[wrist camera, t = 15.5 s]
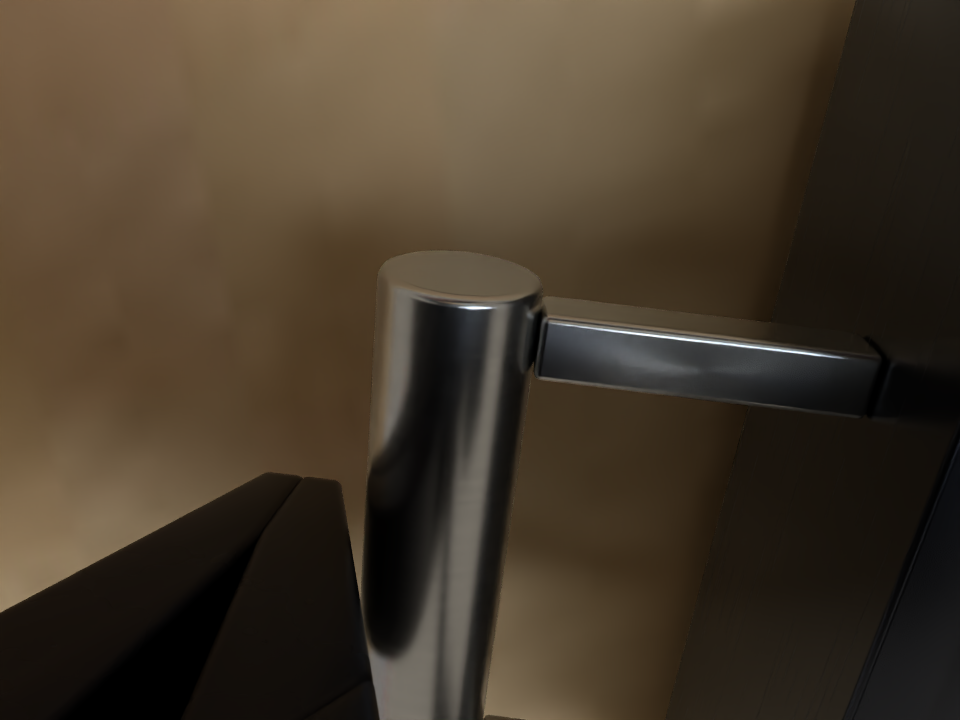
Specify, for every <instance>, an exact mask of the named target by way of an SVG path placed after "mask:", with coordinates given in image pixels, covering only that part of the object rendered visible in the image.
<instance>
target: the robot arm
mask: <svg viewBox="0 0 960 720" xmlns="http://www.w3.org/2000/svg"><path fill="white" fill-rule="evenodd" d="M0 720H380V717H379V711H378V705H377V698H376V692H375V687H374V685H373V676H372V670H371V664H370V658H369V652H368V646H367V640H366V634H365V627H364V621H363V615H362V609H361V603H360V597H359V591H358V585H357V578H356V572H355V566H354V560H353V554H352V548H351V542H350V536H349V529H348V523H347V517H346V511H345V505H344V499H343V493H342V487H341V484H340V482H338V481H336V480H330V479H322V478H313V477H305V478H302V477H300V476H297V475H289V474H281V473H272V472H268V473H265V474H262V475H260V476H258V477H256V478H255V479H253V480H251V481H249V482H247V483H245V484H243V485H241V486H239V487H238V488H236V489H234V490H232V491H230V492H228V493H226V494H224V495H222V496H220V497H219V498H217V499H215V500H213V501H211V502H209V503H207V504H205V505H203V506H202V507H200V508H198V509H196V510H194V511H192V512H190V513H188V514H186V515H185V516H183V517H181V518H179V519H177V520H175V521H173V522H171V523H169V524H167V525H166V526H164V527H162V528H160V529H158V530H156V531H154V532H152V533H150V534H149V535H147V536H145V537H143V538H141V539H139V540H137V541H135V542H133V543H132V544H130V545H128V546H126V547H124V548H122V549H120V550H118V551H116V552H114V553H113V554H111V555H109V556H107V557H105V558H103V559H101V560H99V561H97V562H96V563H94V564H92V565H90V566H88V567H86V568H84V569H82V570H80V571H78V572H77V573H75V574H73V575H71V576H69V577H67V578H65V579H63V580H61V581H60V582H58V583H56V584H54V585H52V586H50V587H48V588H46V589H44V590H42V591H41V592H39V593H37V594H35V595H33V596H31V597H29V598H27V599H25V600H23V601H22V602H20V603H18V604H16V605H14V606H12V607H10V608H8V609H6V610H5V611H3V612H1V613H0Z"/></svg>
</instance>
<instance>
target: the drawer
mask: <svg viewBox="0 0 960 720" xmlns="http://www.w3.org/2000/svg"><path fill="white" fill-rule="evenodd" d="M542 298H543V287H542V283H541V280H540V279H539V277H538V276H537V275H536V274H535V273H533V272H532V271H530V270H529V269H527V268H525V267H523V266H521V265H518V264H516V263H513V262H511V261H508V260H505V259H502V258H498V257H494V256H490V255H485V254H479V253H473V252H465V251H452V250H429V251H418V252H412V253H407V254H402V255H398V256H395V257H392V258H390V259H388V260H387V261H385V262H384V263H383V264H382V266H381V268H380V270H379V272H378V274H377V291H376V310H375V329H374V348H373V367H372V386H371V404H370V423H369V442H368V461H367V480H366V499H365V518H364V537H363V555H362V574H361V593H360V603H361V609H362V615H363V621H364V627H365V634H366V640H367V646H368V652H369V658H370V664H371V670H372V676H373V685H374V687H375V692H376V698H377V705H378V711H379V717H380V720H524V719H516V718H509V717H501V716H494V715H486V716H485V717H484V719H483V716H484V709H485V702H486V695H487V688H488V681H489V674H490V667H491V660H492V653H493V645H494V638H495V631H496V624H497V617H498V610H499V603H500V596H501V589H502V582H503V575H504V567H505V560H506V553H507V546H508V539H509V532H510V525H511V518H512V511H513V504H514V497H515V489H516V482H517V475H518V468H519V461H520V454H521V447H522V440H523V433H524V426H525V419H526V412H527V404H528V397H529V390H530V383H531V376H532V369H533V372H534V375H535V377H536V378H537V379H539V380H544V381H552V382H560V383H569V384H577V385H585V386H593V387H601V388H609V389H617V390H626V391H634V392H642V393H650V394H658V395H666V396H674V397H683V398H691V399H699V400H707V401H715V402H723V403H731V404H740V405H748V409H747V413H746V417H745V421H744V424H743V428H742V432H741V436H740V440H739V443H738V447H737V451H736V455H735V458H734V462H733V466H732V470H731V474H730V477H729V481H728V485H727V489H726V492H725V496H724V500H723V504H722V507H721V511H720V515H719V519H718V523H717V526H716V530H715V534H714V538H713V541H712V545H711V549H710V553H709V556H708V560H707V564H706V568H705V572H704V575H703V579H702V583H701V587H700V590H699V594H698V598H697V602H696V605H695V609H694V613H693V617H692V621H691V624H690V628H689V632H688V636H687V639H686V643H685V647H684V651H683V654H682V658H681V662H680V666H679V670H678V673H677V677H676V681H675V685H674V688H673V692H672V696H671V700H670V703H669V707H668V711H667V715H666V719H665V720H960V0H856V2H855V6H854V10H853V14H852V17H851V21H850V25H849V29H848V32H847V36H846V40H845V44H844V47H843V51H842V55H841V59H840V63H839V66H838V70H837V74H836V78H835V81H834V85H833V89H832V93H831V96H830V100H829V104H828V108H827V112H826V115H825V119H824V123H823V127H822V130H821V134H820V138H819V142H818V145H817V149H816V153H815V157H814V161H813V164H812V168H811V172H810V176H809V179H808V183H807V187H806V191H805V195H804V198H803V202H802V206H801V210H800V213H799V217H798V221H797V225H796V228H795V232H794V236H793V240H792V244H791V247H790V251H789V255H788V259H787V262H786V266H785V270H784V274H783V277H782V281H781V285H780V289H779V293H778V296H777V300H776V304H775V308H774V311H773V315H772V319H771V323H770V322H762V321H754V320H745V319H737V318H729V317H721V316H712V315H704V314H696V313H687V312H679V311H671V310H662V309H654V308H646V307H637V306H629V305H621V304H612V303H604V302H596V301H587V300H579V299H571V298H562V297H554V296H547V297H544V298H543V299H542ZM533 362H534V368H533Z"/></svg>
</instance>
